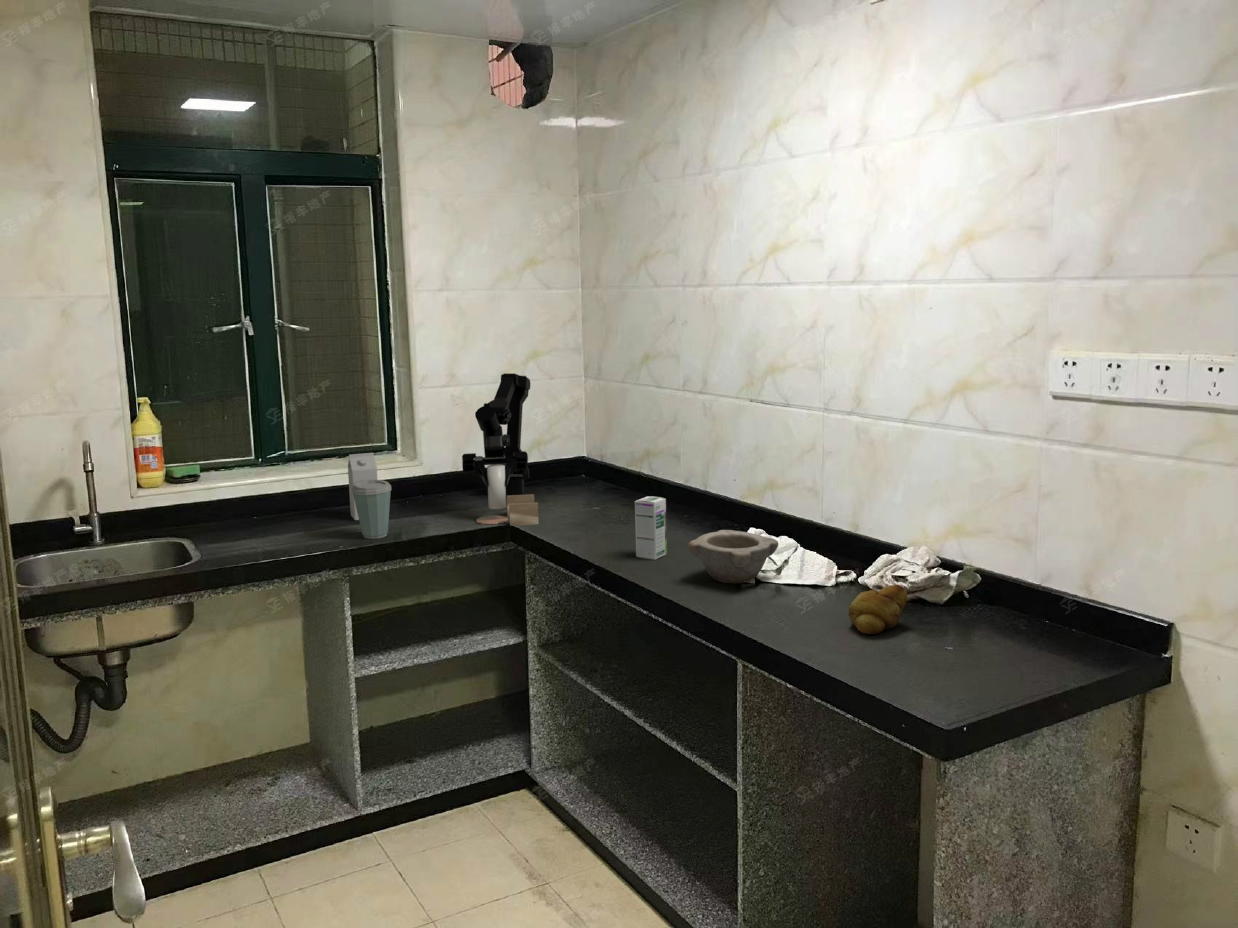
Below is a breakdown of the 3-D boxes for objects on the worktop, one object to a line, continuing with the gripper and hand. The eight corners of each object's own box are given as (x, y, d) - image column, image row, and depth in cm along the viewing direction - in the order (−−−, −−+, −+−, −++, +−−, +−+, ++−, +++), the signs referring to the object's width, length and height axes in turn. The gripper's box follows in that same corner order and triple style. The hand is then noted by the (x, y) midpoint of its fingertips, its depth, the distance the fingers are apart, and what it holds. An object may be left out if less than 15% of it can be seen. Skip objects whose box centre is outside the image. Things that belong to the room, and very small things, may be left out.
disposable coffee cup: (403, 534, 267) (400, 480, 264) (373, 543, 258) (370, 487, 255) (375, 529, 273) (372, 477, 270) (345, 538, 264) (342, 483, 261)
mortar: (741, 594, 211) (742, 553, 209) (680, 579, 222) (680, 540, 220) (784, 577, 223) (785, 538, 221) (724, 564, 234) (725, 526, 233)
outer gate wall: (509, 524, 277) (509, 503, 276) (538, 523, 279) (537, 502, 278) (510, 525, 276) (509, 505, 275) (538, 524, 277) (537, 503, 276)
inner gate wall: (507, 515, 289) (506, 495, 288) (534, 514, 290) (533, 494, 289) (507, 516, 287) (507, 496, 286) (534, 515, 288) (534, 495, 287)
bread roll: (882, 641, 181) (883, 600, 180) (834, 631, 187) (835, 590, 186) (909, 623, 191) (911, 583, 190) (863, 613, 197) (864, 575, 196)
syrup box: (655, 560, 238) (655, 501, 236) (634, 557, 241) (634, 499, 239) (667, 554, 243) (666, 497, 240) (646, 551, 246) (646, 495, 243)
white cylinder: (496, 504, 284) (494, 464, 282) (509, 506, 282) (508, 465, 280) (485, 507, 280) (483, 466, 278) (498, 509, 277) (497, 468, 275)
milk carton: (350, 516, 290) (346, 452, 287) (374, 513, 293) (371, 450, 290) (355, 520, 284) (351, 456, 280) (379, 518, 287) (376, 454, 283)
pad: (490, 516, 287) (490, 514, 287) (514, 519, 283) (514, 518, 283) (469, 522, 280) (469, 520, 280) (493, 526, 275) (493, 524, 275)
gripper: (460, 426, 279) (463, 470, 270) (526, 423, 282) (530, 467, 273) (461, 449, 288) (463, 493, 279) (524, 446, 291) (529, 490, 282)
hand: (496, 485), depth 278 cm, fingers closed on white cylinder, 5 cm apart
